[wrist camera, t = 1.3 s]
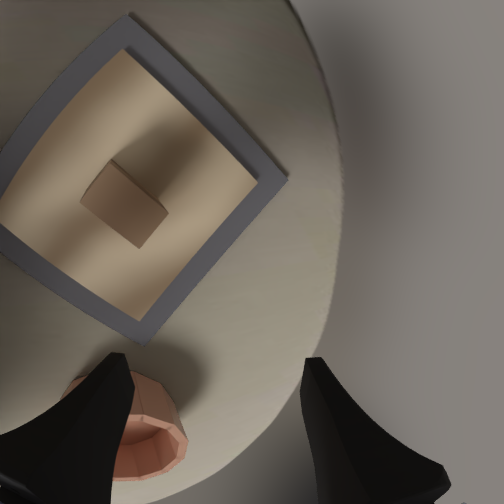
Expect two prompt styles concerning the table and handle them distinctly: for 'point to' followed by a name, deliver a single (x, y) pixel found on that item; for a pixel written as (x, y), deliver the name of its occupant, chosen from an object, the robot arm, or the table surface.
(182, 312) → the table surface
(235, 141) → the mat
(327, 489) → the robot arm
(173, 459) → the bowl
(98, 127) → the lid
